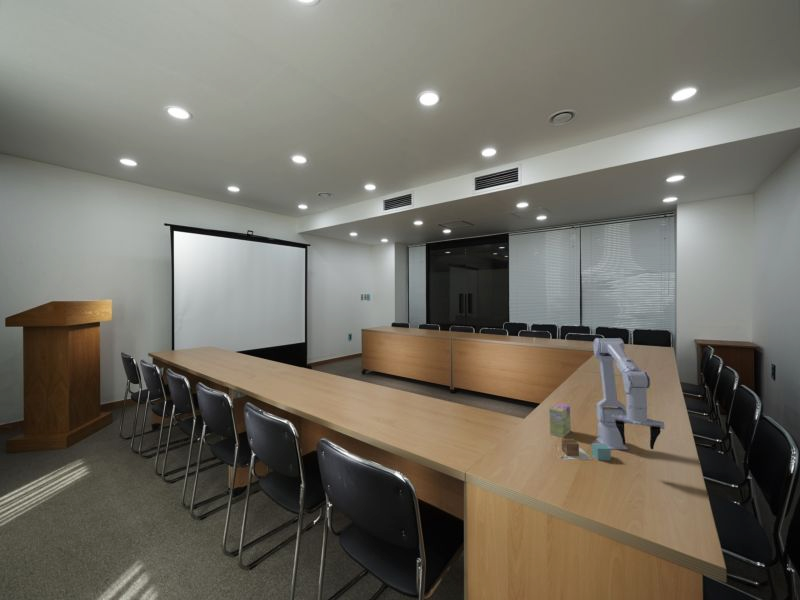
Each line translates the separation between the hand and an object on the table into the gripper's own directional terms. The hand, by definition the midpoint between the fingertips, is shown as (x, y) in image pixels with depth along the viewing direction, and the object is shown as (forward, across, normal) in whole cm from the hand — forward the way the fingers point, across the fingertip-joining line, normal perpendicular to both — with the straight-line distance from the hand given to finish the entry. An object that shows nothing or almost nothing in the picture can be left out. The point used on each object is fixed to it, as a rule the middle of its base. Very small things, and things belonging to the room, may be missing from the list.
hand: (637, 445), depth 111 cm
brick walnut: (+10, -21, +4) cm, 24 cm away
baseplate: (+10, -21, +4) cm, 24 cm away
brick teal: (+10, -11, +7) cm, 16 cm away
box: (+10, -27, +24) cm, 38 cm away
